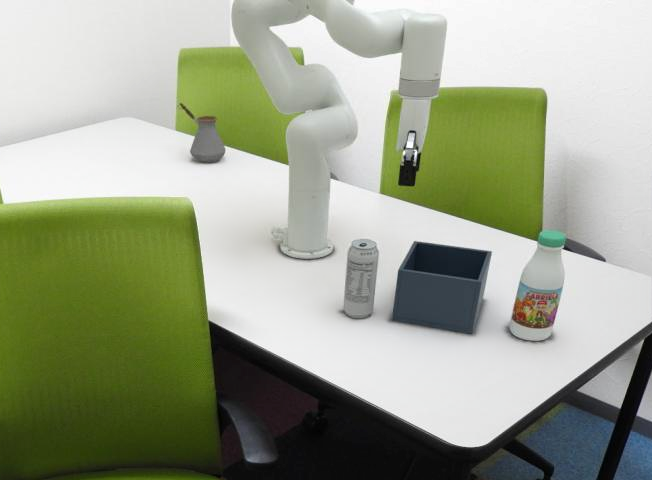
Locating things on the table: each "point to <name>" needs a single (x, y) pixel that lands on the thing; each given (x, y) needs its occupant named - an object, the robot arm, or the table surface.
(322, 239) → the robot arm
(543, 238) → the milk bottle
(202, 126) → the coffee pot
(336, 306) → the table surface
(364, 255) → the energy drink can
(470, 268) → the open storage box
